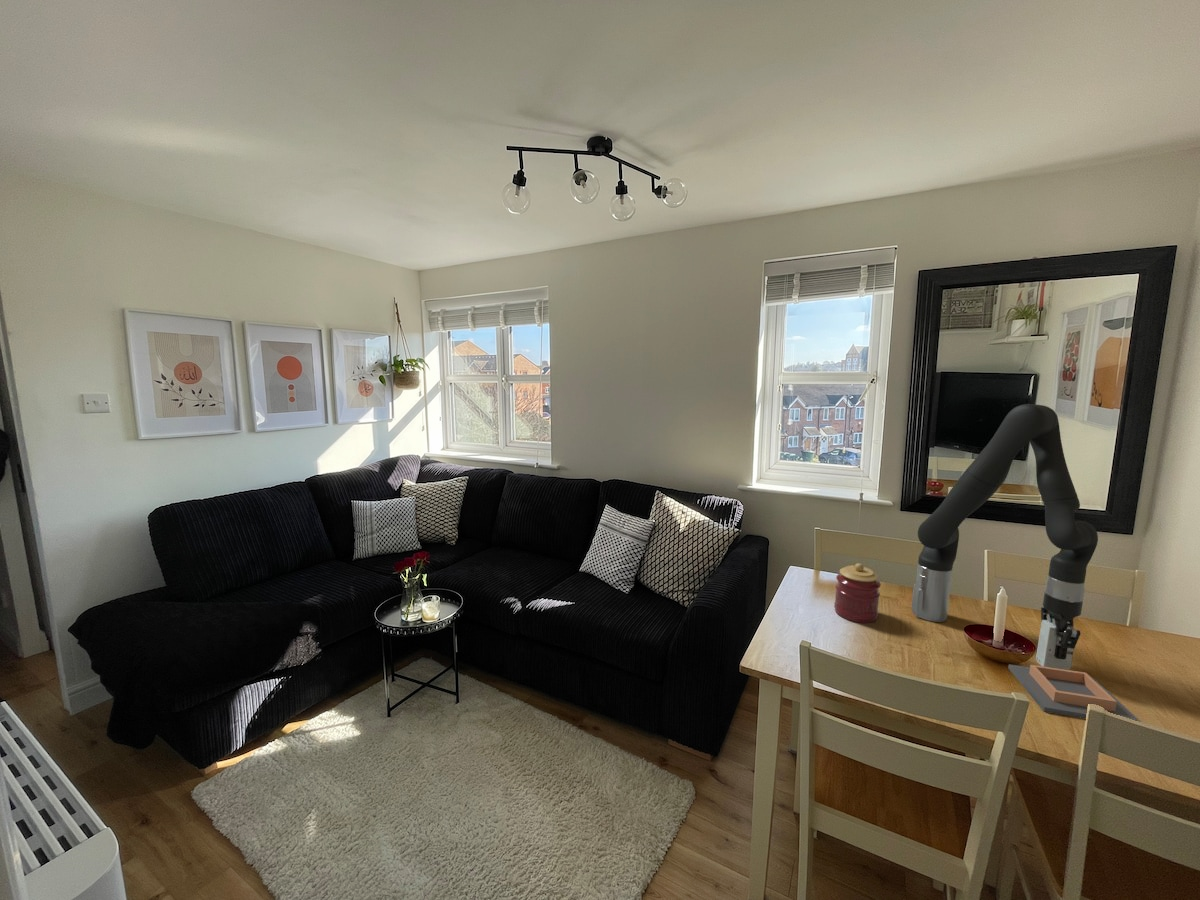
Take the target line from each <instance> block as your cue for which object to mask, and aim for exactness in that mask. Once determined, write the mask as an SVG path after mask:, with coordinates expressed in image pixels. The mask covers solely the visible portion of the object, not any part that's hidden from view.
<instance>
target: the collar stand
mask: <svg viewBox="0 0 1200 900" xmlns="http://www.w3.org/2000/svg"><path fill="white" fill-rule="evenodd" d="M1007 667H1008V670H1009V671H1010V672H1011V673H1012V675H1013V676H1014V677H1015V679H1016V680H1017V681H1018V682H1019V683H1020V684H1021V686H1022V687H1023V688H1024V690H1025V691H1026V692H1027V694H1029V696H1030V697H1031V698H1032V699H1033V700H1034V702H1035V703H1036V704H1037V705H1038V706H1039V708H1040V709H1041V710H1042V711H1043V712H1044V713H1049V714H1056V715H1060V716H1061V715H1062V716H1065V717H1073V718H1078V717H1079V718H1080V717H1081V718H1080V719H1085V718H1086V713H1087V706H1088V704H1096V705H1099V706H1101V707H1103V708H1104V709H1105V710H1107V711H1108V712H1110V713H1113V714H1116V715H1120V716H1123V717H1126V718H1129V719H1132V720H1135V721H1139V722H1142V721H1141V720H1140V719H1138V717H1136V716H1135V714H1133V713H1132V712H1131V711H1130V710H1129V709H1128V708H1127V707H1126V706H1125V705H1124V704H1122V702H1120V700H1118V699H1117V698H1116V697H1115V696H1114V695H1113V694H1112V693H1111V692H1110V691H1108V689H1106V688H1105V686H1103V685H1102V684H1101V683H1100V682H1099V681H1098V680H1097V679H1095V678H1094V676H1091V675H1089V673H1087V672H1083V671H1076V670H1072V669H1070V670H1064V669H1057V668H1050V667H1044V666H1041V665H1036V664H1035V665H1034V664H1030V665H1029V666H1023V665H1016V664H1010V663H1009V664H1008V666H1007ZM1085 720H1086V719H1085Z"/></svg>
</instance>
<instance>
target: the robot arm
mask: <svg viewBox="0 0 1200 900" xmlns="http://www.w3.org/2000/svg"><path fill="white" fill-rule="evenodd" d="M1028 443H1029V444H1030V445H1031V448H1032V450H1033V454H1034V458H1035V473H1036V475H1035V477H1036V484H1037V488H1038V492H1039V494H1040V497H1041V500H1042V503H1043V506H1044V521H1045V532H1046V533H1045V534H1046V536H1047V538H1048V540H1049V541H1050V542H1051V544H1052V545H1053V546H1055V547H1056V548H1057V549H1060V551H1059V552H1058V553H1056V554H1054V555H1053V556H1052V557H1051V559H1050V563H1049V569H1048V575H1047V578H1046V581H1045V587H1044V595H1043V602H1042V607H1040V617H1041V621H1040V622H1041V623H1042V620H1047V621H1049V622H1052V624H1053V625H1054V627H1055V632H1054V635H1055V636H1056V648H1055V654H1054V656H1055V657H1056V658H1057V659H1063V660H1064V659H1066V655H1067V648H1072V649H1074V650H1075V648H1076V646H1077V643H1078V641H1079V638H1080V636H1081V630H1078V629H1076V628H1075V627H1074V625H1075V624H1074V619H1075V618H1076V617H1077V618H1078V617H1079V616H1081V615H1082V610H1083V604H1084V597H1085V580H1086V576H1087V567H1088V564H1089V563H1090V561H1091V559H1092V557H1093V555H1094V553H1095V552H1096V548H1097V546H1098V542H1099V536H1098V531H1097V529H1096V528H1095V526H1093V525H1092V524H1091V523H1089V522H1087V521H1084V520H1076V519H1075V518H1076V517H1075V512H1076V511H1078V510H1079V509H1080V507H1081V502H1080V499H1079V497H1078V493H1077V491H1076V488H1075V486H1074V483H1073V479H1072V478H1071V475H1070V472H1069V468H1068V465H1067V462H1066V457H1065V453H1064V449H1063V445H1062V438H1061V430H1060V423H1059V417H1058V414H1057V412H1055V410H1054V409H1053V408H1051V407H1050V406H1048V405H1047V406H1046V405H1043V404H1034V403H1033V404H1032V403H1025V404H1020V405H1017V406H1015V407H1013V408H1012V409H1010V411H1009V412H1008V413H1007V415H1006V416H1005V417H1004V419H1003V420H1002V422H1001V424H1000V425H999V427H998V428H997V430H996V431H995V433H994V435H993V437H992V438H991V439H990V440H989V442H988V443H987V445H986V446H984V448H983V449H982V450H981V452H979V454H978V455H977V456H976V457H975V458H974V460H973V461H972V462H971V464H969V466H968V467H967V468H966V469H965V471H964V472H963V473H962V474H961V475H960V477H959V478H958V480H957V481H956V482H955V484H954V485H953V486H952V487H951V489H950V490H949V492H948V493H947V495H946V496H945V498H944V500H943V501H942V502H941V503H940V504H939V506H938V507H937V508H936V509H935V510H934V511H933V512H932V513H931V514H930V515H929V516H928V517H927V518H925V520H924V521H922V522H921V524H919V526H918V529H917V538H918V540H919V542H920V544H922V546H923V548H922V550H921V551H920V553H919V556H918V563H917V571H916V582H913V587H912V588H913V591H912V597H911V598H912V599H911V611H912V613H913V614H914V615H915V617H916V618H919V619H922V620H925V621H928V622H932V623H933V622H935V623H943V622H946V621H947V618H948V612H949V611H948V609H949V602H950V592H951V585H952V584H951V583H952V577H953V576H952V575H953V568H954V564H955V561H956V558H957V555H958V553H957V552H958V547H959V541H960V540H959V539H960V531H959V527H960V525H961V524H962V523H963V521H965V520H966V519H967V518H968V517H969V516H970V515H972V514H973V513H974V512H975V511H977V510H978V509H979V508H981V506H983V504H985V503H986V502H987V501H989V499H990V498H991V497H992V496H994V494H995V493H996V492H997V491H998V490H999V489H1000V487H1001V486H1002V485H1003V483H1004V482H1005V481H1006V479H1007V478H1008V477H1007V476H1008V475H1009V472H1010V470H1011V466H1012V464H1013V461H1014V459H1015V458H1016V456H1017V455H1018V453H1019V452H1020V451H1021V450H1023V448H1025V446H1026V445H1027V444H1028ZM1041 623H1040V624H1041ZM1074 628H1075V629H1076V630H1075V629H1074ZM1059 632H1063V633H1065V634H1059ZM1061 637H1063V639H1062V641H1061ZM1070 642H1071V643H1070Z"/></svg>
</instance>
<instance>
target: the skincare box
mask: <svg viewBox="0 0 1200 900" xmlns="http://www.w3.org/2000/svg"><path fill="white" fill-rule="evenodd" d="M1074 629H1075V630H1077V629H1076V628H1075V627H1074ZM1054 632H1055V627H1054V625H1053V624H1052V622H1049V621H1047V620H1042V623H1040V630H1039V635H1038V636H1039V637H1038V642H1037V648H1036V649H1037V650H1036V655H1035V661H1037V663H1038V664H1039V666H1044V667H1050V668H1057V669H1064V670H1071V667H1072V661H1073V658H1074V657H1073V656H1074V655H1073V654H1074V650H1075V648H1074V649H1072V648H1067V655H1066V659H1064V660H1063V659H1057V658H1056V657H1055V656H1054V654H1055V648H1056V636H1055V635H1054ZM1059 634H1065V633H1063V632H1059ZM1062 639H1063V637H1061V641H1062ZM1070 643H1071V642H1070Z"/></svg>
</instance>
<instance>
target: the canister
mask: <svg viewBox="0 0 1200 900" xmlns="http://www.w3.org/2000/svg"><path fill="white" fill-rule="evenodd" d="M835 579H836V580H837V583H836V585H835V598H834V599H835V600H834V605H833V607H834V612H835V613H836V614H837V615H838V616H839V617H841V618H843V619H845V620H849V621H851V622H855V623H864V624H865V623H866V624H867V623H873V622H875V621H876V620H877V619H878V615H879V602H880V601H879V600H880V595H881V593H880V590H879V589H880V588H881V582H880V581H879V576H878V574H877V573H876V572H874V571H873V569H870V568H869V567H866V566H864V565H863V564H862V563H860V562H859V563H857V562H856V563H855V565H852V564H851V565H847V566H844V567H842V568H840V569H839V573H838V574H837V575H836V578H835Z"/></svg>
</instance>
